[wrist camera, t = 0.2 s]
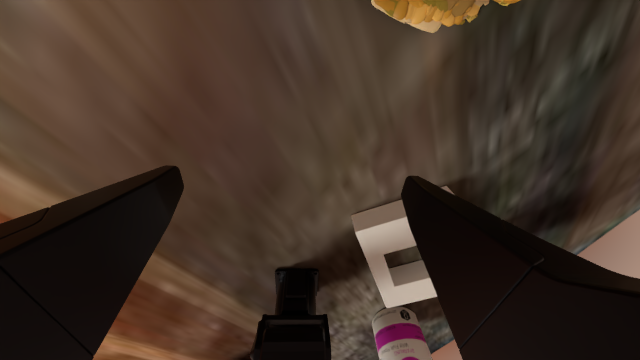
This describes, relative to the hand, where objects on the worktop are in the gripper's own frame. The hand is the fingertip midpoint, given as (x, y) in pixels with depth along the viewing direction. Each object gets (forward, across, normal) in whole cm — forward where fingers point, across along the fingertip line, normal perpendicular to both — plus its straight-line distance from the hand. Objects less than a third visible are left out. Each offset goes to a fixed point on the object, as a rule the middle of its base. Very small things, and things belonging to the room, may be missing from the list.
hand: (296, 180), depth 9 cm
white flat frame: (+14, -16, +20) cm, 29 cm away
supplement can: (+14, -18, +39) cm, 45 cm away
